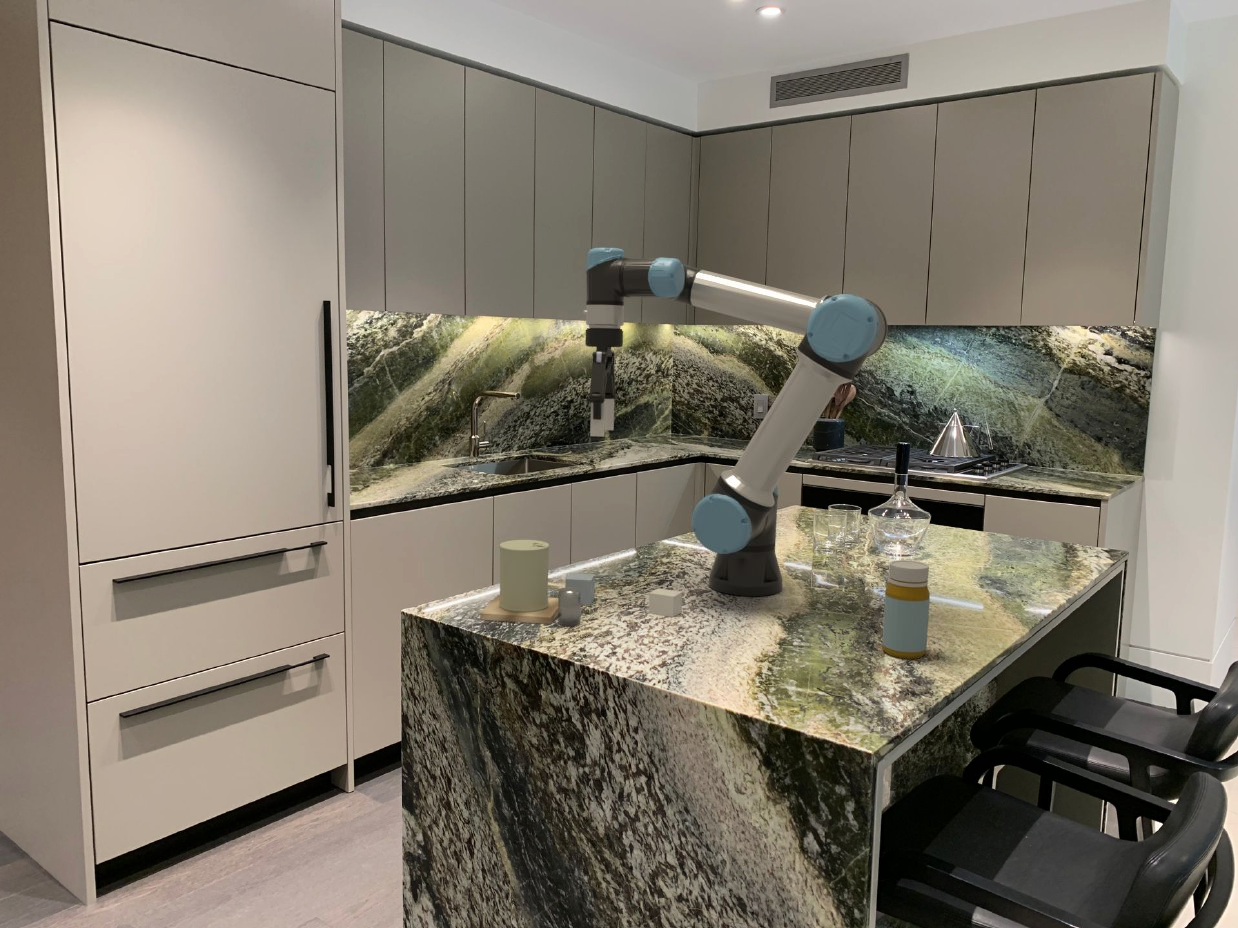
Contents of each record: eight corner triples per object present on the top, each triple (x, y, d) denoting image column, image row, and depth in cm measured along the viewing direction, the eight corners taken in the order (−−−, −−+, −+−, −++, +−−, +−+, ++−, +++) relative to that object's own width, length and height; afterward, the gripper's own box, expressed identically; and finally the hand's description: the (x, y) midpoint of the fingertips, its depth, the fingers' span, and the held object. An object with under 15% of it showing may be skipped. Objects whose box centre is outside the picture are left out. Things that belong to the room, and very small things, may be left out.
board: (564, 604, 185) (564, 598, 184) (551, 623, 172) (551, 617, 172) (498, 600, 186) (498, 594, 186) (480, 619, 173) (480, 613, 173)
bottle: (876, 646, 163) (881, 559, 161) (916, 646, 164) (921, 559, 162) (890, 659, 156) (896, 569, 154) (932, 659, 157) (938, 569, 155)
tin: (582, 620, 175) (582, 587, 174) (578, 626, 171) (578, 593, 170) (560, 618, 175) (560, 586, 174) (556, 625, 171) (556, 592, 170)
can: (540, 613, 174) (541, 548, 172) (492, 610, 175) (492, 545, 174) (554, 600, 182) (555, 538, 181) (507, 597, 184) (508, 535, 183)
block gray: (594, 598, 189) (594, 574, 189) (590, 605, 184) (591, 580, 184) (569, 597, 190) (569, 572, 189) (564, 604, 185) (565, 579, 184)
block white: (681, 612, 181) (682, 591, 181) (673, 617, 178) (673, 596, 177) (657, 608, 184) (658, 588, 183) (648, 613, 180) (649, 592, 180)
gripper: (595, 327, 205) (593, 427, 208) (575, 325, 181) (573, 438, 183) (630, 328, 204) (627, 428, 207) (614, 326, 180) (612, 439, 182)
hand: (602, 433), depth 195 cm, fingers open, 13 cm apart
